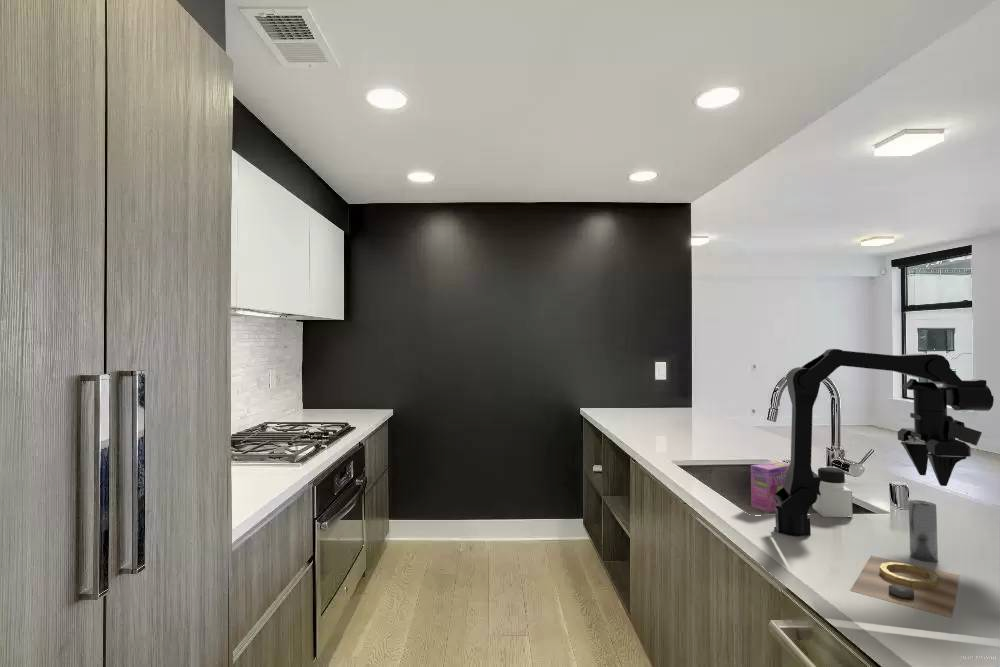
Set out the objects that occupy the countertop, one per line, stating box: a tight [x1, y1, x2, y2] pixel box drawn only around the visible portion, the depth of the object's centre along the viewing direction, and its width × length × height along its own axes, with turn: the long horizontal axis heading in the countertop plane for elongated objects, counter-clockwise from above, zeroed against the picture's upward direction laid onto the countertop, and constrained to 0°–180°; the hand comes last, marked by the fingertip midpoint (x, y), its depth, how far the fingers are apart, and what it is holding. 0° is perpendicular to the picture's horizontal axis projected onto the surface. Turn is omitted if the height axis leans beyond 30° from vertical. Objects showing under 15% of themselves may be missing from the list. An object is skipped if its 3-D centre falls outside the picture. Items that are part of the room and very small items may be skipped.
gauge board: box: [849, 555, 960, 619], centre depth 98 cm, size 21×14×2 cm, turn 136°
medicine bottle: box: [812, 466, 854, 518], centre depth 139 cm, size 7×7×12 cm
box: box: [750, 460, 790, 513], centre depth 145 cm, size 10×6×12 cm, turn 117°
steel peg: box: [907, 499, 939, 563], centre depth 109 cm, size 4×4×12 cm
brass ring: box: [879, 562, 938, 589], centre depth 99 cm, size 8×8×1 cm
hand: (932, 480), depth 116 cm, fingers open, 9 cm apart
